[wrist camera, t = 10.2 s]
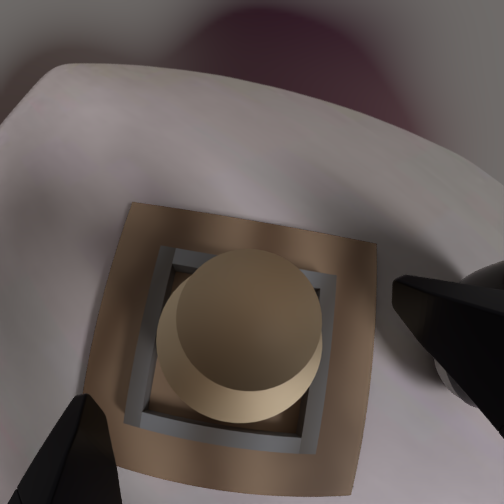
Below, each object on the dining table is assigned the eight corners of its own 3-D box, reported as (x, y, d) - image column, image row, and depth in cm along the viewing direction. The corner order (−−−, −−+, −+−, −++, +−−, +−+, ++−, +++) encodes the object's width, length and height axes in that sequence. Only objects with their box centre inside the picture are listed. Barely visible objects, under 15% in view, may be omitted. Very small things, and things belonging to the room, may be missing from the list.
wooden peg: (301, 342, 19) (412, 284, 7) (246, 422, 17) (285, 497, 5) (222, 288, 20) (222, 159, 8) (164, 364, 18) (68, 338, 6)
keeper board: (371, 248, 23) (385, 235, 20) (345, 490, 16) (359, 502, 14) (135, 208, 22) (127, 190, 20) (82, 448, 16) (65, 454, 13)
